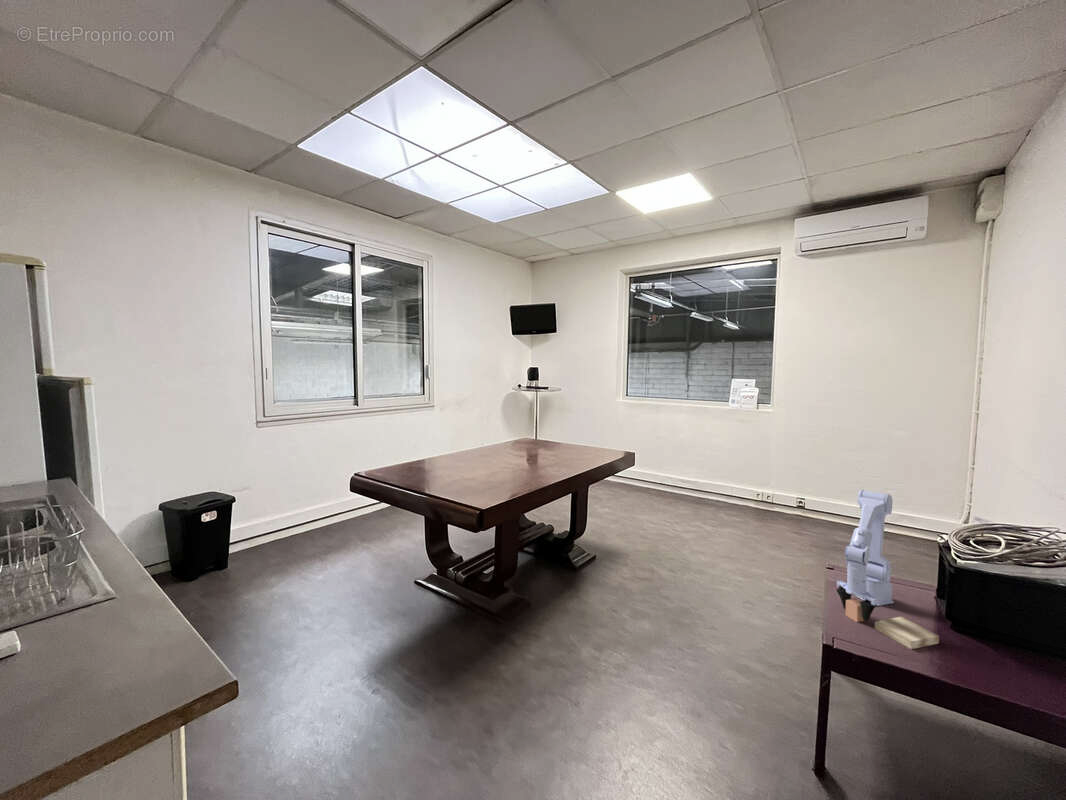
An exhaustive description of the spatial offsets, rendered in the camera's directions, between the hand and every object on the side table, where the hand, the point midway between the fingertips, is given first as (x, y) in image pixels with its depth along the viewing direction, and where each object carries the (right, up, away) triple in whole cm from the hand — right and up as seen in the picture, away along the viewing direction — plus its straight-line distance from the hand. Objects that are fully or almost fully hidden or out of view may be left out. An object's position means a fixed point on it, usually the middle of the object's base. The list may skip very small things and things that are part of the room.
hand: (856, 613), depth 161 cm
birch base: (+9, -2, -11) cm, 14 cm away
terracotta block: (0, -2, 0) cm, 2 cm away
